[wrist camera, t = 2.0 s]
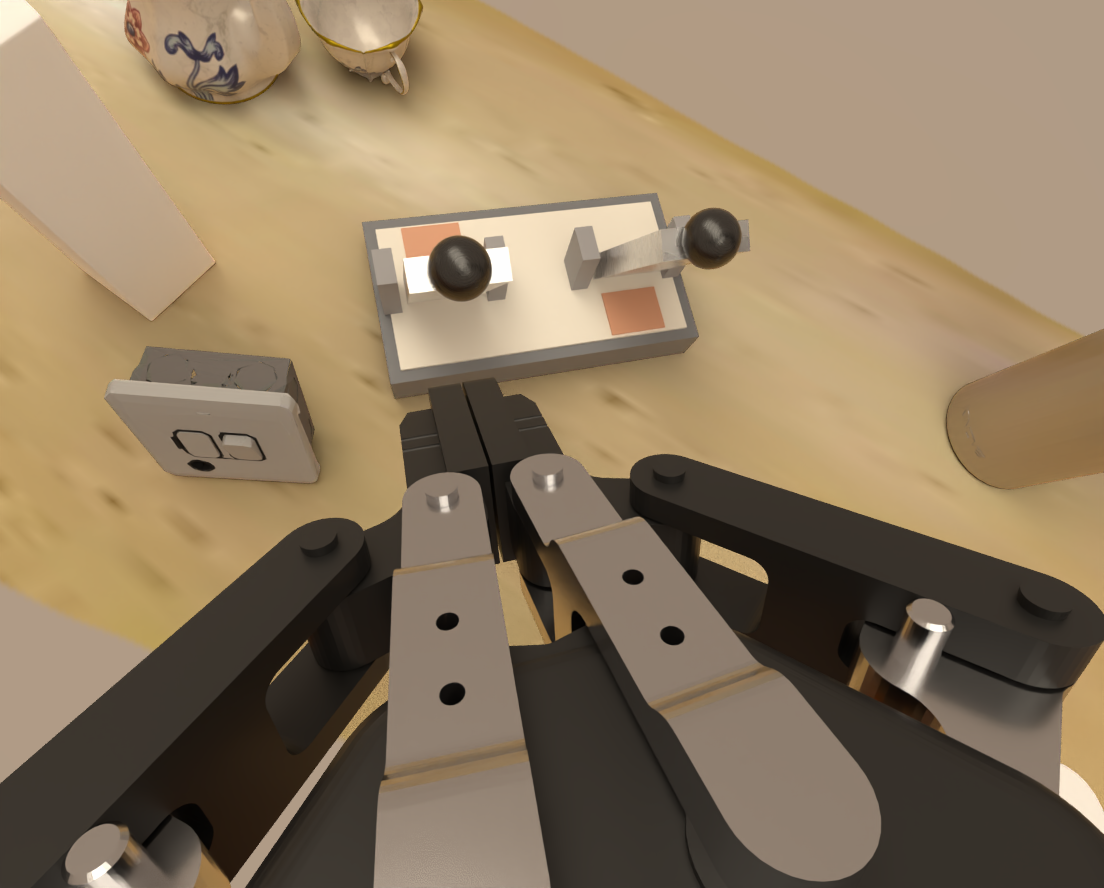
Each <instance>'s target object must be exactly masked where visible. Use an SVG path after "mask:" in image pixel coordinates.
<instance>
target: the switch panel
mask: <svg viewBox="0 0 1104 888" xmlns="http://www.w3.org/2000/svg"><path fill="white" fill-rule="evenodd" d="M689 219H690V215H687V216H677V217H673V218H672V220H671V222H670V223H669V225H668V227H667V226H666V223H665V219H664V216H663V212H662V209H661V206H660V202H659V199H658V195H657V193H652V194H641V195H631V196H621V197H611V198H601V199H591V200H581V201H571V202H561V203H551V204H541V205H531V206H521V207H511V208H501V209H491V210H480V211H470V212H460V213H450V214H440V215H430V216H420V217H410V218H400V219H390V220H380V221H370V222H362V225H363V231H364V237H365V242H366V248H367V254H368V259H369V265H370V271H371V276H372V282H373V288H374V293H375V299H376V304H377V310H378V316H379V321H380V327H381V333H382V338H383V344H384V350H385V355H386V361H387V367H388V372H389V378H390V384H391V387H392V391H393V394H394V398H395V399H397V398H403V397H409V396H416V395H422V394H428V387H434V386H441V385H447V384H453V383H460V384H461V387H462V382H466V381H472V380H478V379H485V378H491V377H494V378H495V379H496V381H497V382H503V381H509V380H516V379H522V378H528V377H534V376H541V375H547V374H553V373H559V372H566V371H572V370H578V369H584V368H591V367H597V366H603V365H609V364H616V363H622V362H628V361H634V360H641V359H647V358H653V357H659V356H666V355H672V354H678V353H684V352H685V351H686V350H687V349H688V348H689V347H690V346H691V344H692V343H693V342H694V341H695V340H696V339H697V338H698V337H699V335H698V332H697V328H696V325H695V321H694V318H693V314H692V311H691V308H690V304H689V301H688V297H687V294H686V291H685V287H684V284H683V280H682V277H681V274H680V272H681V271H682V270H683V268H684V267H685V265H684V266H680V267H675V268H671V269H666V270H661V271H656V272H648V273H640V274H632V275H625V276H617V277H609V278H601V279H593V275H594V272H595V270H596V268H597V266H598V263H599V261H600V259H601V257H600V254H599V253H600V252H603V251H605V250H608V249H611V248H613V247H616V246H618V245H621V244H624V243H626V242H629V241H632V240H634V239H637V238H639V237H642V236H645V235H647V234H650V233H653V232H655V231H658V230H661V229H669V228H678V227H685V225H686V224H687V222H688V221H689ZM455 235H462V236H467V237H470V238H473V239H474V240H476V241H478V242H479V243H480V244H481V245H482V246H483V247H484V248H485V249H493V248H502V247H508V251H509V258H510V265H511V272H512V279H513V281H511V282H509V283H506V284H504V285H502V286H499V287H497V288H495V289H492V290H490V291H488V292H485V293H483V294H481V295H480V296H479V297H477V298H475V299H473V300H470V301H466V302H457V301H453V300H450V299H447V298H446V299H438V300H431V301H423V302H415V303H407V298H406V292H405V287H404V281H403V259H405V258H414V257H422V256H430V254H431V252H432V250H433V248H434V247H435V246H436V245H437V244H438V243H439V242H440V241H442V240H443V239H445V238H447V237H450V236H455Z"/></svg>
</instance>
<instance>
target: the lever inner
mask: <svg viewBox="0 0 1104 888" xmlns="http://www.w3.org/2000/svg"><path fill="white" fill-rule="evenodd" d="M748 251H750V240H749V223H748V220H740V221H737V219H736V218H735V217H734V216H733V215H732V214H731V213H730V212H728V211H726V210H724V209H720V208H708V209H704V210H701V211H700V212H698V213H696V214H695V215H693V216H692V217H691V218H690V219H689V221H688V222H687V224H686V225H685V227H678V228H669V229H661V230H658V231H655V232H653V233H650V234H647V235H645V236H642V237H639V238H637V239H634V240H632V241H629V242H626V243H624V244H621V245H618V246H616V247H613V248H611V249H608V250H605V251H603V252H600V253H599V254H600V257H601V259H600V261H599V263H598V266H597V268H596V270H595V272H594V275H593V279H601V278H609V277H617V276H625V275H632V274H640V273H648V272H656V271H661V270H666V269H671V268H675V267H680V266H684V265H689V264H693V265H695V266H696V267H699V268H702V269H716V268H719V267H722V266H724V265H726V264H727V263H728V262H730V261H731V260H732V259H733V258H734V256H735V255H736V254H739V253H743V252H748Z"/></svg>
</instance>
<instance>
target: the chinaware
mask: <svg viewBox="0 0 1104 888" xmlns="http://www.w3.org/2000/svg"><path fill="white" fill-rule="evenodd" d="M295 2H296V5H297V6H298V8H299V11H300V13H301V14H302V16H303V18H304V19H305V20H306V22H307V23H308V25H309V26H310V27H311V29H312V30H313V31H314V32H315V34H316V35H317V36H318V37H319V38H320V40H321V41H322V43H323V45H324V47H325V48H326V49H327V51H328V52H329V53H330V54H331V55H332V56H333V57H334V58H335V59H336V60H337V61H338V62H340V63H341V64H343V65H344V66H346V67H347V68H349V71H350V72H351V71H354V72H356V73H357V74H359V75H361V76H363V77H366V78H368V79H369V81H370V82H371V81H372V79H373V78H376V77H379V76H381V80H382V82H383V83H384V84H389V83H391V84H392V86H393V87H394V88H395V89H396V91H397V92H398V93H400V94H402V95H404V94H406V93H407V92H408V90H409V80H408V75H407V72H406V69H405V66H404V64H403V63H402V61H401V60H400V59H401V58H402V56H403V55H404V53H405V51H406V49H407V46H408V43H409V40H410V35H411V34H412V32H413V31H414V29H415V27H416V25H417V23H418V21H419V19H420V16H421V14H422V12H423V5H422V3H421V1H420V0H295ZM124 27H125V34H126V37H127V39H128V41H129V42H130V43H131V45H132V46H133V47H134V48H135V49H136V50H138V51H139V52H140V53H141V54H142V55H143V56H144V57H145V58H146V59H147V60H148V61H149V62H150V63H151V64H152V65H153V66H154V68H155V69H156V70H157V72H158V73H159V74H160V76H161V77H162V78H163V79H164V80H165V81H166V82H168V83H169V84H171V85H174V86H177V87H178V88H179V89H180V90H182V91H183V92H184V93H186V94H188V95H189V96H191V97H193V98H196V99H198V100H201V101H204V102H208V103H214V104H235V103H241V102H245V101H248V100H251V99H253V98H255V97H257V96H259V95H261V94H262V93H264V92H265V91H266V90H267V89H269V88H270V87H271V85H272V84H273V83H274V82H275V80H276V78H277V76H278V74H279V73H281V72H283V71H284V70H285V69H286V68H287V67H288V65H289V64H290V63H291V62H292V61H293V59H294V58H295V56H296V55H297V54H298V52H299V51H300V47H301V40H300V35H299V31H298V27H297V24H296V21H295V18H294V16H293V13H292V11H291V9H290V7H289V5H288V3H287V1H286V0H127V6H126V12H125V20H124ZM395 64H396V65H397V68H398V71H399V74H400V77H401V80H402V84H403V89H402V88H401V87H400V86H399V85H398V83H397V82H396V81H395V80H394V78H393V77H392V75H391V72H390V70H389V69H390V68H391V67H393V66H394V65H395Z"/></svg>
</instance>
